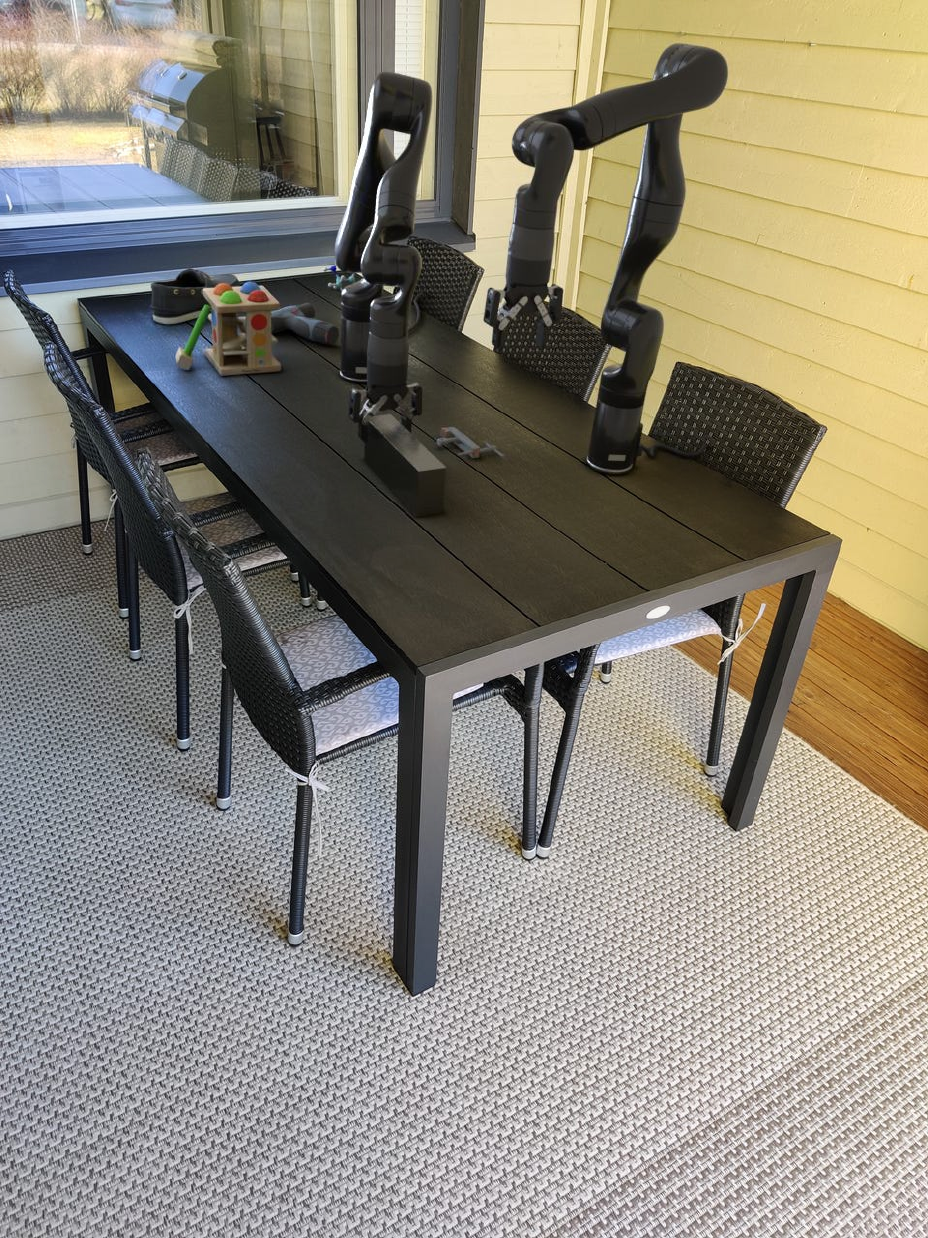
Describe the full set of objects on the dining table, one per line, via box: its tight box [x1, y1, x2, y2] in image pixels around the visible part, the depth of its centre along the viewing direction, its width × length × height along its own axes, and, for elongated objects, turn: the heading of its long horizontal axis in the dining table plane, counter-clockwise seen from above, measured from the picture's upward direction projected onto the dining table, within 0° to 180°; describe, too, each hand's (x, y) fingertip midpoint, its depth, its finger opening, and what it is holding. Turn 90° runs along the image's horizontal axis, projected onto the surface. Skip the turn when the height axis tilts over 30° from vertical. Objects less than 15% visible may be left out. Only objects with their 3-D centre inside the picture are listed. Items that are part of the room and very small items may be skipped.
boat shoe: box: [150, 268, 242, 325], centre depth 260 cm, size 13×33×10 cm, turn 147°
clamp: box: [436, 426, 507, 460], centre depth 201 cm, size 15×2×10 cm
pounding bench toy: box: [174, 281, 282, 377], centre depth 225 cm, size 23×14×18 cm, turn 116°
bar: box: [363, 413, 447, 518], centre depth 184 cm, size 25×5×9 cm, turn 27°
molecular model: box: [322, 260, 357, 292], centre depth 284 cm, size 12×10×10 cm
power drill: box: [271, 302, 340, 346], centre depth 252 cm, size 5×19×20 cm
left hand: (384, 438), depth 190 cm, fingers open, 8 cm apart
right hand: (519, 347), depth 173 cm, fingers open, 8 cm apart
